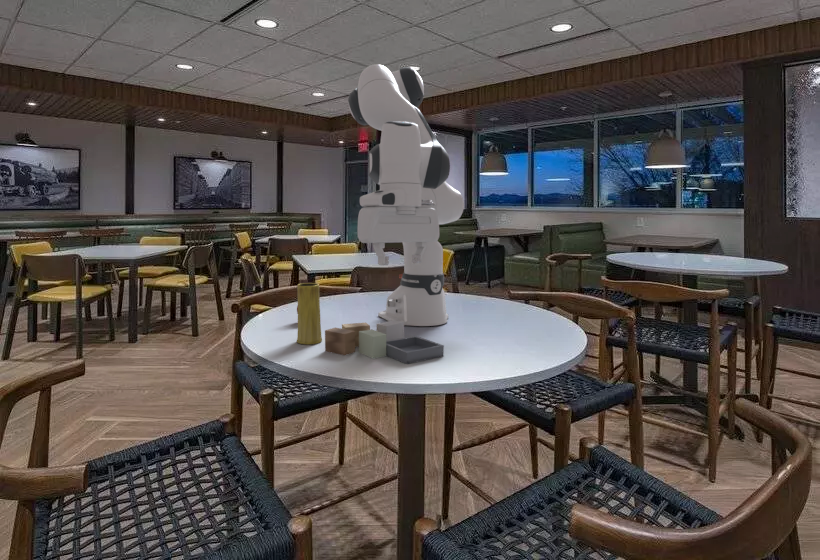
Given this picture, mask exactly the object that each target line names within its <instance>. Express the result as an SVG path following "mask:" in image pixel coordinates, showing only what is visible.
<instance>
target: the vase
mask: <svg viewBox="0 0 820 560" xmlns="http://www.w3.org/2000/svg"><path fill="white" fill-rule="evenodd" d="M296 289H297V290H296V291H297V306H298V314H297V338H296V342H297V343H298V344H300V345H304V346H305V345H316V344H319V343H321V342H322V341H323V339H322V327H321V324H322V323H321V304H320V303H321V302H320V284H319V283H316V282H302V283H298V284H297V286H296Z"/></svg>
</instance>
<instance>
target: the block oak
mask: <svg viewBox="0 0 820 560" xmlns="http://www.w3.org/2000/svg"><path fill="white" fill-rule="evenodd" d="M341 329H346V330H352V331H355V348H357V347H358V348H359V331H365V330H371V325H370V324H369V323H367V322H355V323H352V322H351V323H342V324H341Z"/></svg>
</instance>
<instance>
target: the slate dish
mask: <svg viewBox="0 0 820 560" xmlns="http://www.w3.org/2000/svg"><path fill="white" fill-rule="evenodd" d="M444 347H445V345H444V344H441V343H438V342H435V341H432V340H430V339H427V338H426V339H425V338H423V337H420V336H417V335H414V336H409V337H404V338H402V339H397V340H391V341H386V356H385V357H389V358H392V359H394V360H396V361H399V362H401V363H404V364H406V365H409V364H413V363H418V362H423V361H428V360H432V359H437V358H441V357H444V351H445V350H444Z"/></svg>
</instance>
